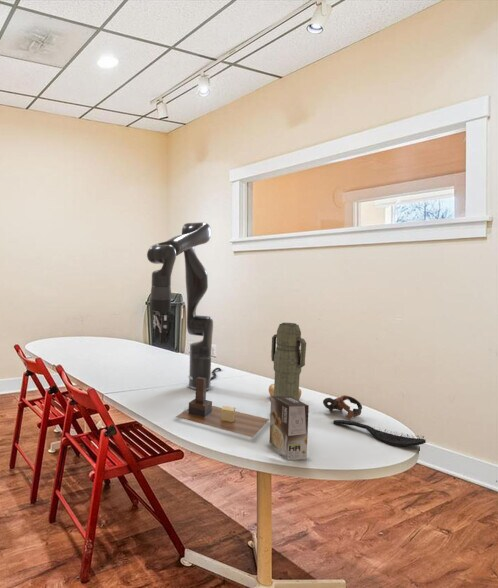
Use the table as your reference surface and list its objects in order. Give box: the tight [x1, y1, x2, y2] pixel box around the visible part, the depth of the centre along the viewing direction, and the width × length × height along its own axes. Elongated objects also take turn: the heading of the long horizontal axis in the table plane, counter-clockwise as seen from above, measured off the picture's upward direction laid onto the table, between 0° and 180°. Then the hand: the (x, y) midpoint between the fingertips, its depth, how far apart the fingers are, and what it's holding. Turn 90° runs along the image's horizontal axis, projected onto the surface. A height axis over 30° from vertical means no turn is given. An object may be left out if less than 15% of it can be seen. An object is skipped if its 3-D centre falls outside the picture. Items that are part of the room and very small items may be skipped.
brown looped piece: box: [322, 395, 363, 420], centre depth 150 cm, size 12×10×8 cm
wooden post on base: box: [188, 377, 213, 417], centre depth 148 cm, size 7×6×13 cm
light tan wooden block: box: [221, 405, 236, 422], centre depth 142 cm, size 4×4×4 cm
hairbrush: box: [333, 419, 427, 447], centre depth 132 cm, size 8×4×25 cm
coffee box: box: [269, 396, 310, 461], centre depth 119 cm, size 9×6×16 cm
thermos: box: [270, 322, 307, 401], centre depth 146 cm, size 9×12×35 cm
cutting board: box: [175, 405, 270, 438], centre depth 143 cm, size 20×26×2 cm
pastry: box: [268, 383, 302, 400], centre depth 167 cm, size 12×12×9 cm
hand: (159, 340), depth 152 cm, fingers open, 8 cm apart
